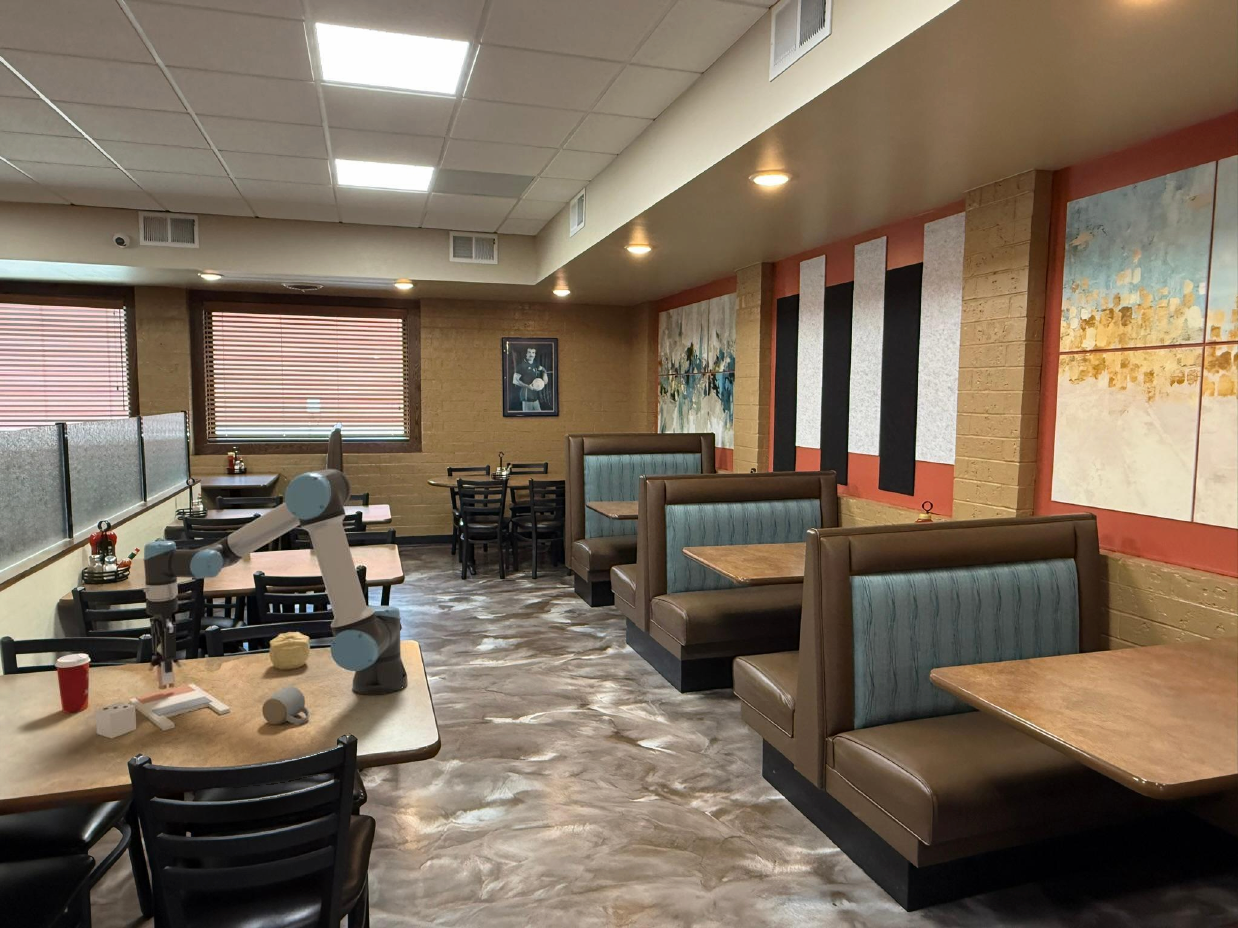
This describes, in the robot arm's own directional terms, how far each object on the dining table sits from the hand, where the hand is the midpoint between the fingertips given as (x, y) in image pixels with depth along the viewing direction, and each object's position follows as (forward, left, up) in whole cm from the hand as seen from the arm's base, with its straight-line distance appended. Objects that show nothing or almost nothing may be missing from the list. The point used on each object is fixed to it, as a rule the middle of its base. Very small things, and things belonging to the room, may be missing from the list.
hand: (165, 681), depth 215 cm
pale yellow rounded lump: (0, -35, -5) cm, 35 cm away
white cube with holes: (-15, +16, -5) cm, 22 cm away
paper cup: (+9, +19, -5) cm, 22 cm away
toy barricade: (-10, 0, -5) cm, 11 cm away
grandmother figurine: (0, 0, -2) cm, 2 cm away
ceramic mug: (-39, -16, -5) cm, 43 cm away
